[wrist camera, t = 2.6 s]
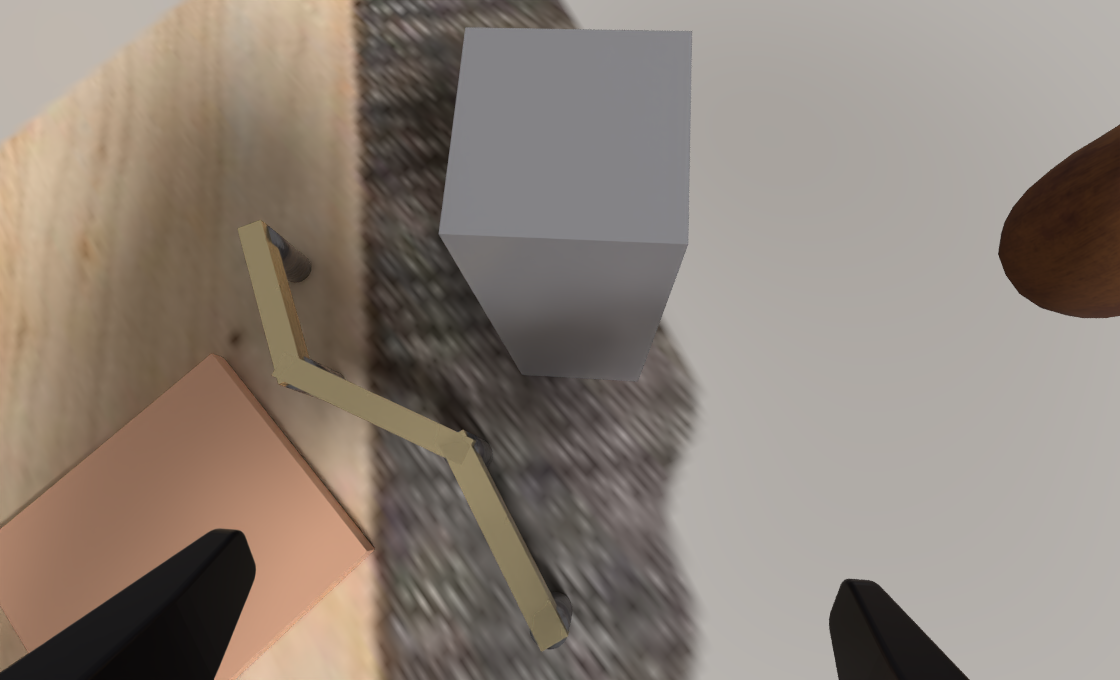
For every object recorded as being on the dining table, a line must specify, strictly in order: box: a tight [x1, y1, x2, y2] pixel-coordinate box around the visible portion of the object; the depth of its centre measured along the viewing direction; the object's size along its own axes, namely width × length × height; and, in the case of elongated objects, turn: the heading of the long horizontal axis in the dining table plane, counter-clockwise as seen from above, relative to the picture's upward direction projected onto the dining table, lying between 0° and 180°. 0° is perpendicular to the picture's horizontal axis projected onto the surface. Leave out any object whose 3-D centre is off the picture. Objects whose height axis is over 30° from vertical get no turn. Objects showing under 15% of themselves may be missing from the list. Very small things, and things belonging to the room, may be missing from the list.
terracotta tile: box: [0, 353, 375, 680], centre depth 22 cm, size 10×11×1 cm
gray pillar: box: [439, 28, 692, 381], centre depth 18 cm, size 4×4×13 cm
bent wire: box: [237, 220, 572, 652], centre depth 22 cm, size 18×4×3 cm, turn 43°
